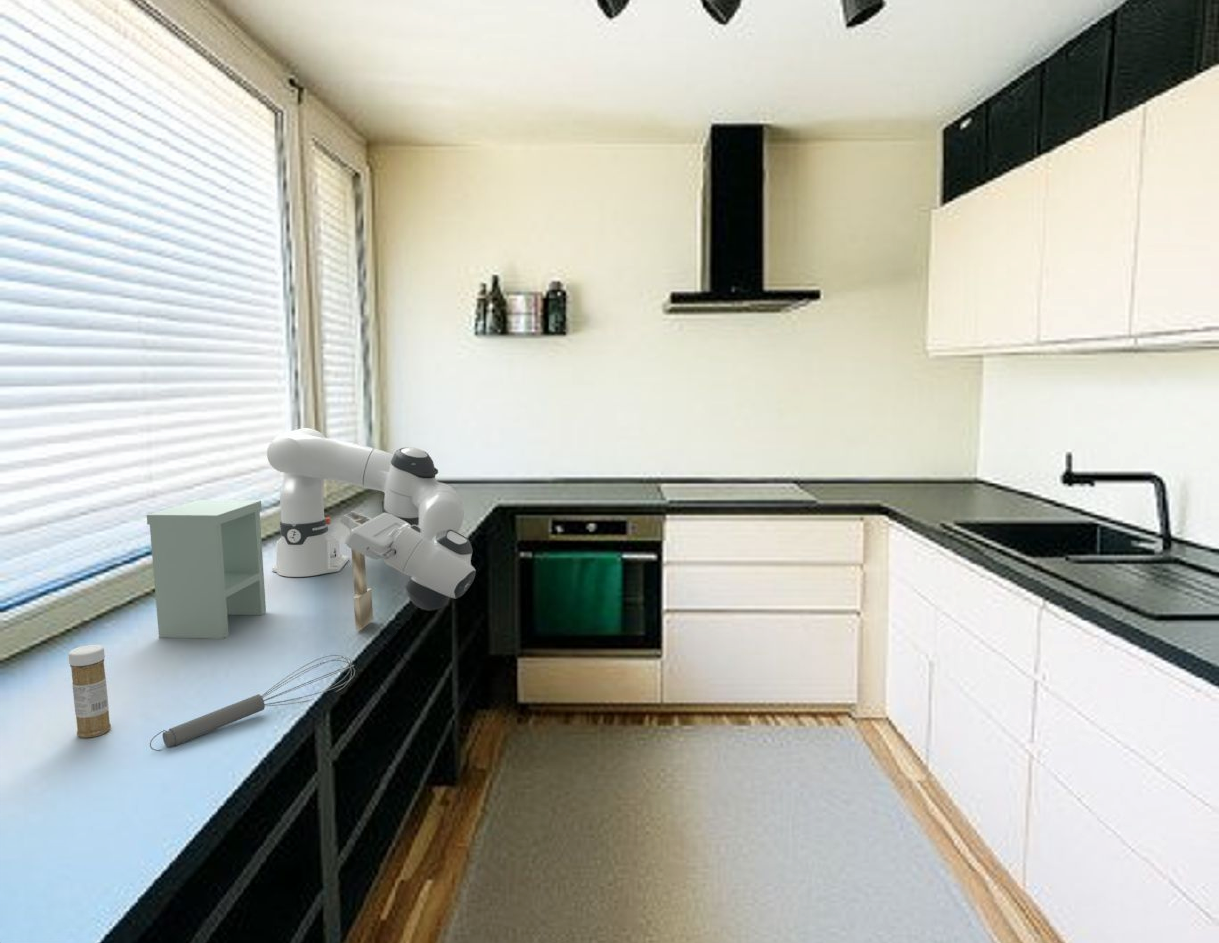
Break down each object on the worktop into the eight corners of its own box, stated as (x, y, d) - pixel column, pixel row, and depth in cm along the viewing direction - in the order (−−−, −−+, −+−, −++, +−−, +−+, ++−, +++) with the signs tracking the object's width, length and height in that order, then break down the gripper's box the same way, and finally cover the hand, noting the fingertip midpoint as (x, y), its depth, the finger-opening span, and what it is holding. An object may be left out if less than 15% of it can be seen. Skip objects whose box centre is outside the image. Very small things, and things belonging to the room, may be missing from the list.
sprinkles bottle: (106, 723, 129) (98, 641, 127) (115, 731, 126) (107, 648, 124) (72, 732, 125) (64, 649, 124) (81, 741, 122) (72, 656, 121)
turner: (361, 629, 172) (353, 629, 172) (373, 619, 179) (365, 619, 179) (353, 523, 169) (344, 523, 169) (365, 516, 176) (357, 516, 176)
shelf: (205, 611, 187) (197, 500, 184) (268, 612, 186) (261, 500, 183) (156, 637, 169) (146, 514, 166) (225, 638, 168) (216, 515, 165)
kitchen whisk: (142, 747, 121) (139, 707, 120) (343, 680, 147) (341, 647, 146) (159, 760, 117) (156, 718, 116) (362, 689, 143) (361, 654, 142)
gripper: (378, 573, 162) (318, 538, 162) (410, 549, 183) (357, 519, 183) (392, 546, 162) (332, 512, 161) (423, 526, 182) (369, 495, 182)
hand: (345, 515), depth 172 cm, fingers closed on turner, 2 cm apart
